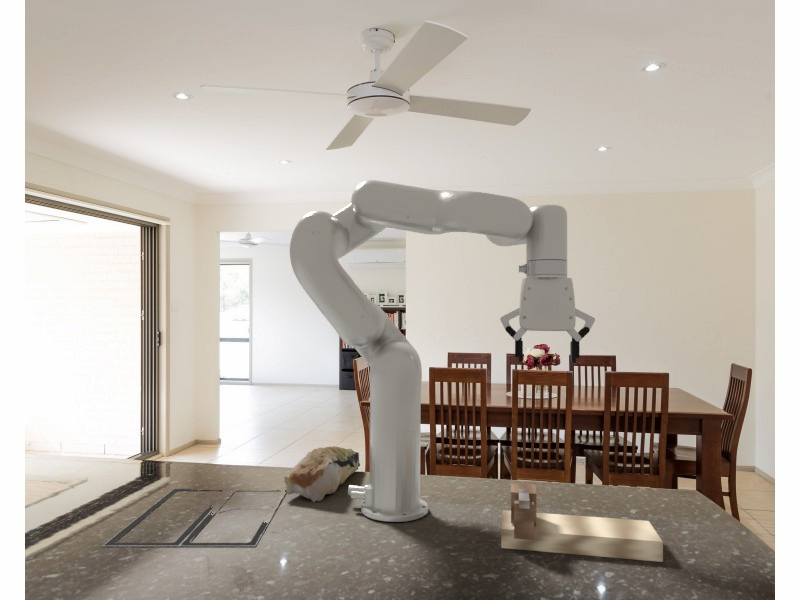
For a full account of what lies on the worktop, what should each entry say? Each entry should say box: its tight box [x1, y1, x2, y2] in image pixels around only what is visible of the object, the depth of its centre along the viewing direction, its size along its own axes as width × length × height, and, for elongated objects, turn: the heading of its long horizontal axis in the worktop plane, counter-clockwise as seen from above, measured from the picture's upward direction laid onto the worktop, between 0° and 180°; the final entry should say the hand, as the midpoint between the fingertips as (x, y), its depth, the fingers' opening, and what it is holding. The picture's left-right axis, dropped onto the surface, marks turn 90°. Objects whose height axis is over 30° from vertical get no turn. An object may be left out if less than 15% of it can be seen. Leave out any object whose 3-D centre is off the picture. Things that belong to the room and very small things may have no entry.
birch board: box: [500, 509, 664, 563], centre depth 93 cm, size 24×9×3 cm, turn 79°
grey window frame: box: [101, 488, 270, 548], centre depth 105 cm, size 24×1×30 cm
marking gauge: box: [510, 482, 537, 540], centre depth 92 cm, size 4×9×6 cm, turn 169°
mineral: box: [283, 446, 361, 503], centre depth 124 cm, size 26×9×10 cm
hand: (546, 361), depth 107 cm, fingers open, 9 cm apart
